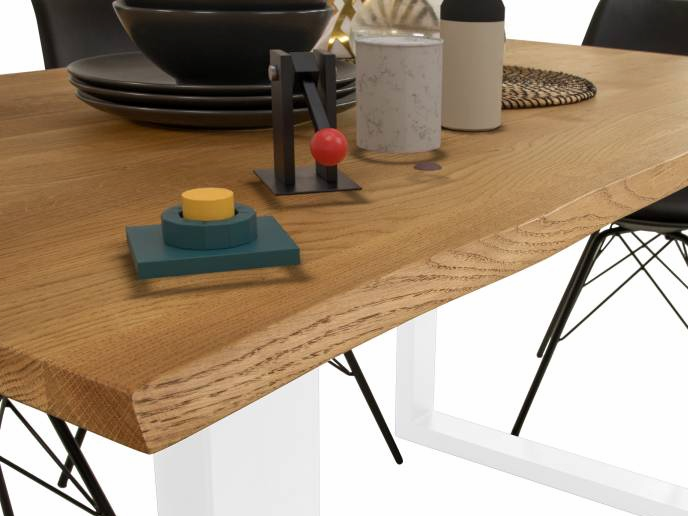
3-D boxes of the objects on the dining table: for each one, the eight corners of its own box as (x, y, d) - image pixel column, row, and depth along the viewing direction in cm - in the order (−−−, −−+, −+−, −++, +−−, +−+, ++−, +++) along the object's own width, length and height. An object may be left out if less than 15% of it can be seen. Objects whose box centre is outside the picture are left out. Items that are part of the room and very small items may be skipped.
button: (186, 226, 70) (185, 201, 69) (179, 212, 73) (178, 189, 72) (238, 221, 71) (237, 197, 71) (229, 209, 74) (228, 186, 74)
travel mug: (464, 134, 123) (469, -20, 117) (425, 124, 129) (427, -23, 123) (513, 128, 128) (519, -21, 122) (473, 118, 134) (477, -24, 127)
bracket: (362, 200, 92) (361, 57, 88) (275, 206, 89) (270, 59, 85) (333, 176, 101) (330, 45, 96) (253, 181, 98) (247, 46, 94)
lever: (349, 172, 86) (354, 144, 84) (312, 174, 85) (317, 146, 83) (314, 76, 94) (318, 47, 91) (280, 77, 93) (283, 48, 90)
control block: (139, 293, 67) (134, 236, 66) (127, 254, 75) (123, 203, 74) (300, 277, 71) (299, 222, 70) (273, 242, 79) (271, 192, 78)
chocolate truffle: (438, 173, 103) (438, 158, 103) (445, 180, 100) (446, 164, 100) (409, 174, 102) (409, 159, 102) (416, 181, 100) (417, 165, 99)
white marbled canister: (449, 161, 109) (451, 44, 104) (361, 162, 107) (360, 44, 103) (432, 143, 117) (434, 35, 113) (350, 144, 116) (349, 34, 111)
